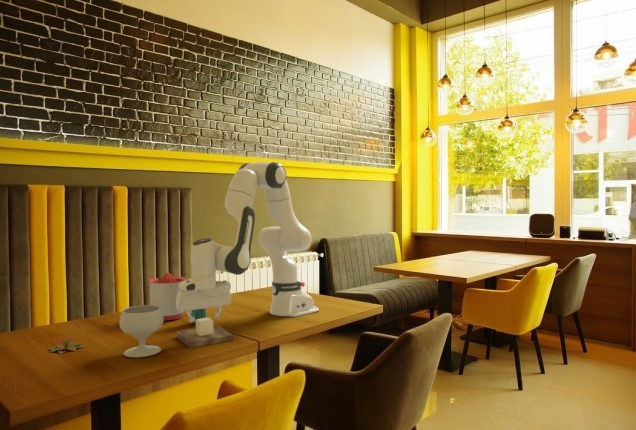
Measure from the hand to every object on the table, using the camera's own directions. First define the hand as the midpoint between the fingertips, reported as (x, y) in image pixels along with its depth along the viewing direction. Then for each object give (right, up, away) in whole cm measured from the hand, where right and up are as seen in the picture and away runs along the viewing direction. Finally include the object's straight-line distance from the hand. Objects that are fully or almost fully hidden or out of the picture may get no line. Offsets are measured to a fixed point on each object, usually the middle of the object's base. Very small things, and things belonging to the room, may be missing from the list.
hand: (204, 319), depth 179 cm
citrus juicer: (-24, -6, +32) cm, 41 cm away
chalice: (-17, -8, -16) cm, 25 cm away
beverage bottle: (-8, -7, +22) cm, 24 cm away
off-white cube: (0, -5, 0) cm, 5 cm away
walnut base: (0, -7, 0) cm, 7 cm away
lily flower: (-46, -9, -10) cm, 48 cm away
